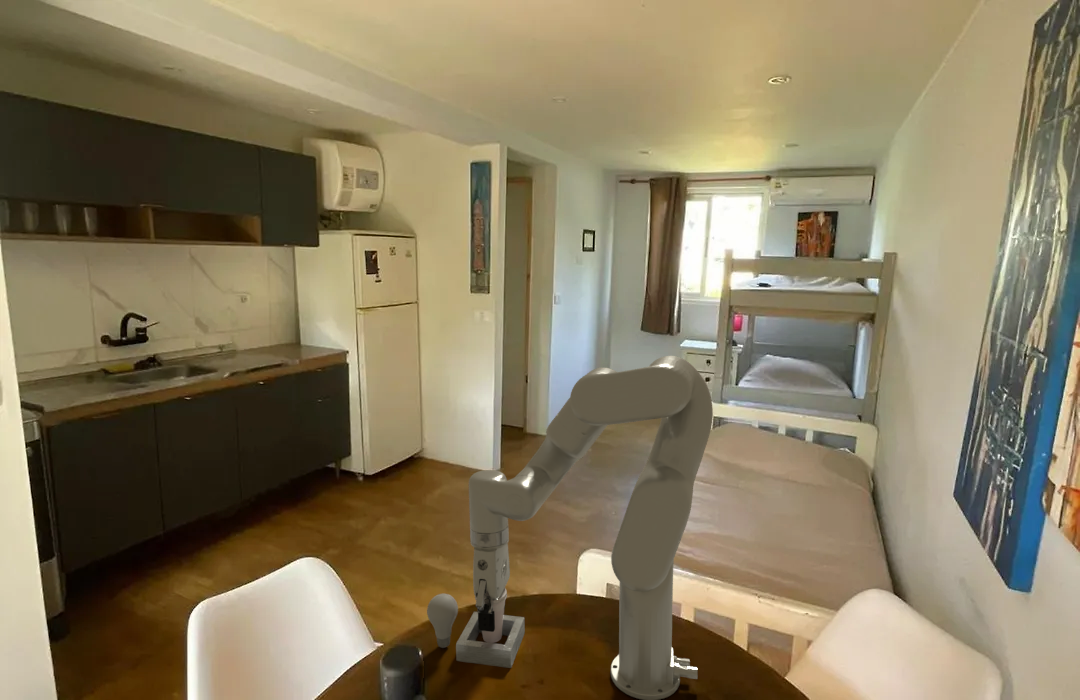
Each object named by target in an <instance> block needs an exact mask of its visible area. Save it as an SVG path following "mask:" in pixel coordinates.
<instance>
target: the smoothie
mask: <svg viewBox="0 0 1080 700" xmlns="http://www.w3.org/2000/svg"><path fill="white" fill-rule="evenodd" d="M507 593H508V591H507V588H506V587H505V588H504V590H503V592H502V594H501V596H500V597H499V598H498V599H497V600H495V599H494V600H493V611H494V613H495V630H494V632H490V631H482V633H481V634H482V638H483V642H487V643H495V644H496V643H497V642H500V641H501V639H502V636H503V635H502V626H503V616H504V615H505V609H504V606H505V605H506V599H507V598H508V594H507ZM486 595H489V593H488V592H486ZM474 599H475V601H476V600H477V598H476V597H475V596H474ZM485 604H487V605H488V606H489V599H485ZM505 607H506V606H505Z"/></svg>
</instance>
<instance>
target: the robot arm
mask: <svg viewBox="0 0 1080 700" xmlns="http://www.w3.org/2000/svg"><path fill="white" fill-rule="evenodd" d="M713 409H714V408H713V400H712V396H711V392H710V389H709V387H708V385H707V383H706V381H705V379H704V378H703V376H702V374H701V373H700V372H699V370H697V369H696V367H694V366H693V365H692V364H691V363H690V362H689V361H688V360H686V359H684V358H682V357H679V356H677V355H665V356H661V357H659V358H656V359H655V360H654V361H653V362H652V363H650V364H649V366H645V367H639V368H635V369H629V370H621V371H617V370H615V369H612V368H609V367H597V368H594V369H592V370H590V371H589V372H587V373H586V374H585V375H583V376H582V377H580V378H579V379H577V381H576V382H575V383H574V385H573V387H572V389H571V392H570V397H569V398H568V399H567V400H566V402H565V403H564V404H563V405H562V408H561V409H559V411H558V413H557V414H555V416H554V418H553V419H552V421H551V422H550V423H549V424H548V426H547V428H546V430H545V431H546V432H545V433H546V436H545V439H544V440H543V442H541V443H542V444H541V445H540V447H539V448H538V450H537V451H536V452H535V453H534V455H533V456H532V457H531V459H530V460H529V461H528V462H527V463H526V465H525V466H524V468H523V469H522V470H521V471H519V473H517V474H516V475H515V477H513V478H511V479H507V477H506V474H505V473H503V472H501V471H500V470H494V469H485V470H480V471H477V472H474V473H473V474H471V476H470V477H469V479H468V500H469V501H468V506H469V507H468V508H469V530H470V531H469V532H470V535H469V538H470V545H471V546H472V548H474V549H473V562H472V563H473V564H472V567H473V568H472V574H473V575H472V577H473V580H472V581H473V582H472V583H473V585H472V586H473V594H474V598H475V597H476V598H477V600H475V608H477V609H476V610H477V611H476V612H478V629H479V630H481V631H490V632H494V630H495V613H494V611H493V600H494V599H495V600H497V599H498V598H499V597H500V596H501V594H502V592H503V590H504V588H505V589H506V586H507V584H508V581H509V579H510V575H511V572H510V571H511V569H510V557H509V555H510V554H509V553H510V552H509V541H510V539H509V538H510V536H509V535H510V534H509V519H510V520H514V521H519V522H524V521H528V520H530V519H532V518H533V517H534V516H536V514H537V512H538V511H539V510H540V509H541V507H542V506H543V505H544V503H546V501H547V500H548V498H550V496H551V495H552V493H553V492H554V491H555V490H556V488H557V487H558V486H559V485H560V483H561V482H562V481H563V479H564V478H565V476H566V475H567V474H568V473H569V471H570V470H571V469H572V468H573V467H574V466H575V464H576V462H578V461H579V460H582V458H583V457H584V456H585V455H586V454H587V452H588V451H589V450H590V449H591V447H592V446H594V443H595V442H596V441H597V439H598V438H599V437H600V436H601V434H602V433H604V431H605V429H606V428H607V427H608V426H610V425H619V424H620V425H622V424H628V423H634V422H641V421H652V420H657V419H660V423H659V425H658V428H657V432H656V434H655V438H654V442H653V444H652V448H651V450H650V453H649V456H648V459H647V461H646V463H645V465H644V467H643V469H642V471H641V472H640V474H639V476H638V477H637V480H636V483H635V484H634V488H633V490H632V492H631V496H630V498H629V501H628V505H627V507H626V511H625V513H624V516H623V519H622V521H621V525H620V527H619V530H618V533H617V536H616V540H615V542H614V544H613V547H612V550H611V555H610V562H611V568H612V570H613V574H614V575H615V577H616V578H617V580H618V582H619V593H618V596H619V597H618V598H619V605H618V606H619V611H618V612H619V615H618V617H619V619H618V622H619V623H618V626H619V630H618V631H619V632H618V643H619V644H618V645H619V646H618V654H617V656H615V657H614V659H613V660H612V662H611V665H610V677H611V680H612V682H613V683H614V685H615V687H617V688H618V689H619V690H620V691H621V692H623V693H624V694H626V695H628V696H630V697H632V698H636V699H639V700H661V699H663V700H664V699H665V698H668V697H670V696H672V695H673V694H674V693H676V691H677V690H678V688H679V686H680V682H681V677H682V678H687V679H694V680H698V667H697V666H692V665H691V661H690V658H686V657H683V658H682V657H677V655H674V648H673V647H672V646H673V645H672V641H673V637H672V636H673V595H674V594H673V593H674V589H673V587H674V562H675V561H674V560H675V557H676V554H677V551H678V549H679V546H680V544H681V540H682V538H683V535H684V533H685V530H686V528H687V524H688V521H689V517H690V514H691V510H692V503H693V495H694V494H693V493H694V483H695V481H696V477H697V474H698V471H699V469H700V466H701V463H702V460H703V457H704V453H705V450H706V448H707V444H708V441H709V438H710V434H711V430H712V424H713V418H714V415H713V413H714V412H713ZM486 592H488V593H489V595H486ZM485 599H489V606H488V605H487V604H485ZM505 608H506V606H504V610H505Z"/></svg>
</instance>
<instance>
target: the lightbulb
mask: <svg viewBox="0 0 1080 700" xmlns="http://www.w3.org/2000/svg"><path fill="white" fill-rule="evenodd" d="M458 613H459V606H458V602H457V600H456V599H455V598H454V596H452V595H451V594H449V593H438V594H437V595H434V596H433V597H432V598H431V600H430V601H429V602H428V605H427V609H426V615H427V618H428V620H429V622H430V623H431V624H432V626H433V629H434V631H435V636H436V642H437V646H438V647H439V648H440V649H441V648H442V649H445V648H447V647H448V646H450V644H451V635H452V627H453V625H454V622H455V620H456V618H457V616H458Z"/></svg>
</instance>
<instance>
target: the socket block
mask: <svg viewBox="0 0 1080 700" xmlns="http://www.w3.org/2000/svg"><path fill="white" fill-rule="evenodd" d="M525 628H526V627H525V616H515V615H507V614H504V616H503V626H502V636H504V637H505V636H507V639H506V641H505V643H504V644H502V643H496V642H495V643H488V642H486V641H478V640H477V638H478V636H479V634H480V633H481V634H482V631H481V630H479V629H478V612H477V611H473V613H472V615H471V617H470V619H469V620H468V622H467V624H466V625H465V627H464V629H463V631H462V633H461V634H460V636H459V638H458V639H457V641H456V644H455V655H456V656H455V657H456V661H457V662H461V663H462V662H463V663H470V664H478V665H485V666H493V667H499V668H508V669H511V668H513V664H514V661H515V659H516V656H517V654H518V651H519V649H520V646H521V643H522V641H523V638H524V636H525V633H526V632H525V631H526V629H525Z"/></svg>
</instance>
